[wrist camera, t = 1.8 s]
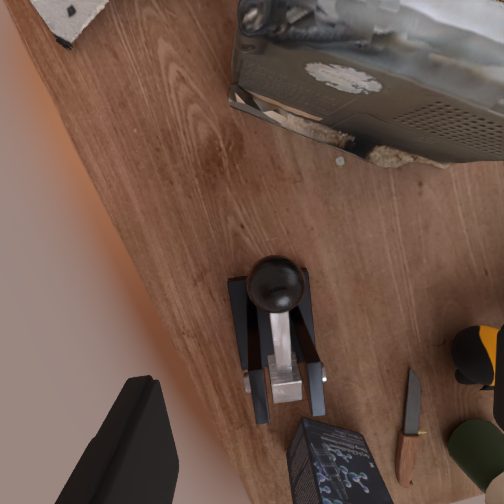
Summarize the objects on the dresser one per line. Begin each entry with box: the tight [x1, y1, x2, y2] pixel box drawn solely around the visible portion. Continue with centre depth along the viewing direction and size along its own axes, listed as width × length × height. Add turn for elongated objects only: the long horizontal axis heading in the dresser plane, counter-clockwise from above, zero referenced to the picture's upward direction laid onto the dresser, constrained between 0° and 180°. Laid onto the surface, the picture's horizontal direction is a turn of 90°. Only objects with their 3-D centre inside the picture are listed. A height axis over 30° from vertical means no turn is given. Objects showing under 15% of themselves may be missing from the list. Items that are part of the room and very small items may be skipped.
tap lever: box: [247, 255, 305, 404], centre depth 20 cm, size 13×3×3 cm, turn 10°
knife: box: [396, 368, 427, 489], centre depth 37 cm, size 17×1×3 cm
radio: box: [229, 0, 504, 169], centre depth 21 cm, size 23×9×15 cm, turn 67°
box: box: [286, 418, 394, 504], centre depth 32 cm, size 8×6×11 cm
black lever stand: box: [227, 268, 327, 424], centre depth 28 cm, size 10×8×12 cm
